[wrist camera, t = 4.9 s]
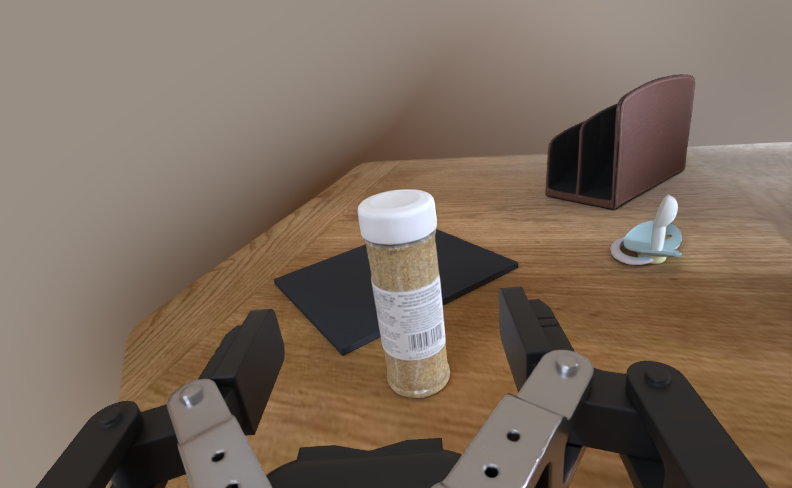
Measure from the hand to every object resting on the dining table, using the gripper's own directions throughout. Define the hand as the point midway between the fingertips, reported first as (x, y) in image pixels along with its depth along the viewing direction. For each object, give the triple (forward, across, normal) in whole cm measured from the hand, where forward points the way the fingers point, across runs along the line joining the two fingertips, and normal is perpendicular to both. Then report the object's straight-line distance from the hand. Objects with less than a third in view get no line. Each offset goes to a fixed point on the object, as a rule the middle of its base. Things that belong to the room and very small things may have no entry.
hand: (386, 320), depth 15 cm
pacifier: (+26, -23, +13) cm, 37 cm away
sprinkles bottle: (+11, 0, +13) cm, 17 cm away
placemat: (+27, +2, +13) cm, 30 cm away
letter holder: (+48, -30, +12) cm, 58 cm away
